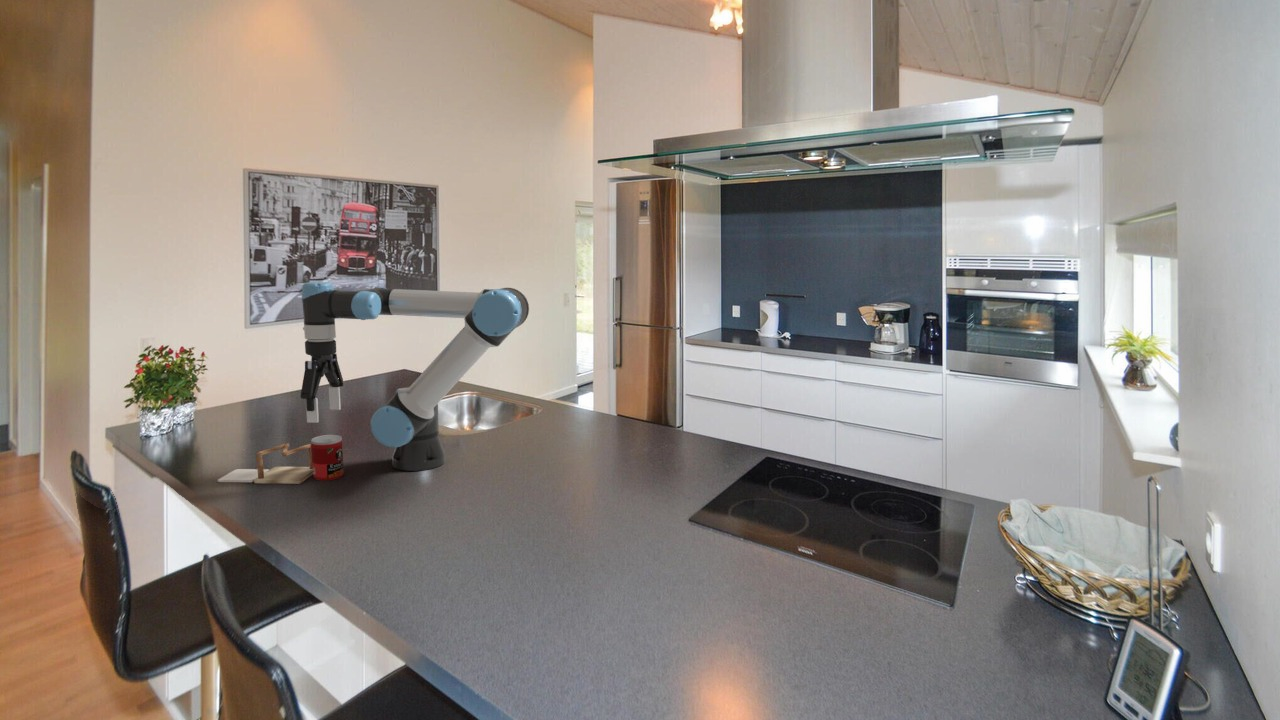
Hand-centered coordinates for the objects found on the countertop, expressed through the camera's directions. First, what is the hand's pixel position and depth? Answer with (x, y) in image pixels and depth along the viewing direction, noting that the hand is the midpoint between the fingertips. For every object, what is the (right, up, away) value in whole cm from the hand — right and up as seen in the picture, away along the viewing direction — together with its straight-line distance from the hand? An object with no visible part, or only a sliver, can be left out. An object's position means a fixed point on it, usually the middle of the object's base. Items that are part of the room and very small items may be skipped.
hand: (324, 415), depth 172 cm
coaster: (-23, -17, +1) cm, 28 cm away
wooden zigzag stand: (-11, -17, +2) cm, 21 cm away
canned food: (0, -17, +3) cm, 18 cm away
